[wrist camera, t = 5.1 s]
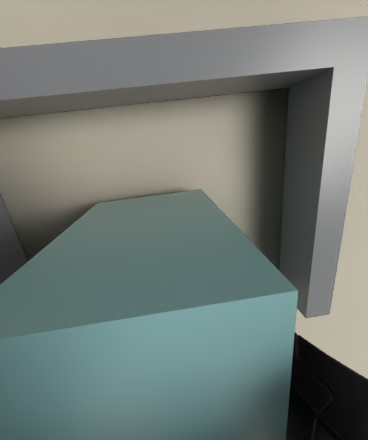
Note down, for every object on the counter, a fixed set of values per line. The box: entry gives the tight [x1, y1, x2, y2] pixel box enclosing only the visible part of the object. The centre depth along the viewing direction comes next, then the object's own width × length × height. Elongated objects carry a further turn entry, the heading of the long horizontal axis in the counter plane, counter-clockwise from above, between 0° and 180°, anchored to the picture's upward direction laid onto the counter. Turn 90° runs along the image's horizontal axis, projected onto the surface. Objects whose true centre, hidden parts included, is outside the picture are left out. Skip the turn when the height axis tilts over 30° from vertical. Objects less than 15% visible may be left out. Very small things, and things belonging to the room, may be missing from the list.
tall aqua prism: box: [0, 189, 298, 440], centre depth 7 cm, size 9×4×7 cm, turn 6°
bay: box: [0, 16, 368, 318], centre depth 9 cm, size 11×15×2 cm
